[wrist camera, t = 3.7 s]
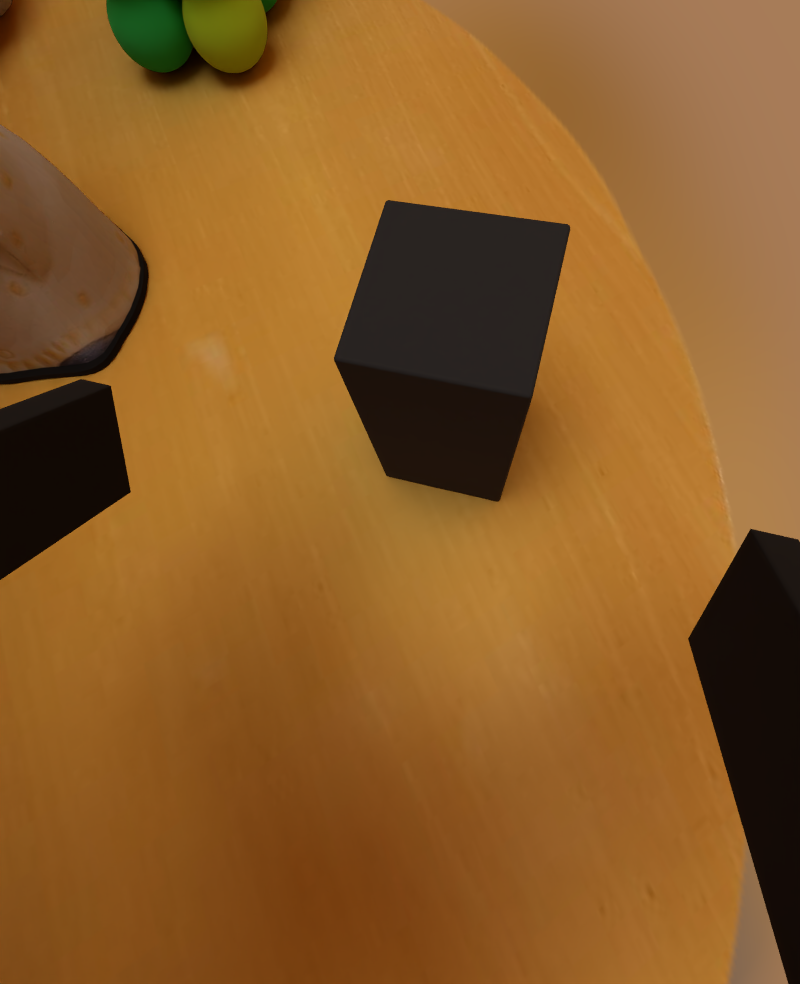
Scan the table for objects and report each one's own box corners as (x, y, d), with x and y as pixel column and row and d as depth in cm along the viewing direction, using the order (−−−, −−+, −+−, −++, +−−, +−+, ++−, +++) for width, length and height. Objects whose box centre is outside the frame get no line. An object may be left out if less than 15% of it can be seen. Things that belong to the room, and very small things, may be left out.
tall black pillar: (385, 476, 22) (332, 359, 13) (414, 374, 24) (385, 198, 14) (499, 502, 22) (532, 398, 12) (523, 396, 23) (571, 222, 13)
